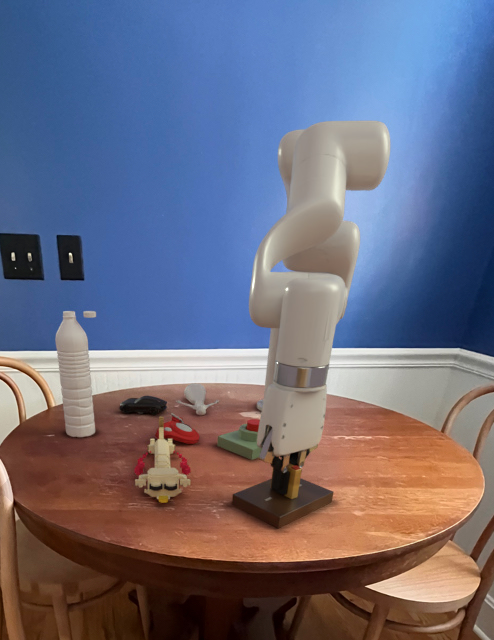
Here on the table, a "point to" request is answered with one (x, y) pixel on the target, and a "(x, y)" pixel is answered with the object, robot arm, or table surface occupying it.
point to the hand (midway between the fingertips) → (283, 489)
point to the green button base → (241, 442)
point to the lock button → (253, 425)
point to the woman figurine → (196, 398)
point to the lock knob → (293, 481)
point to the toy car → (143, 405)
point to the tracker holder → (179, 431)
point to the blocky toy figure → (162, 469)
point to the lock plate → (281, 502)
